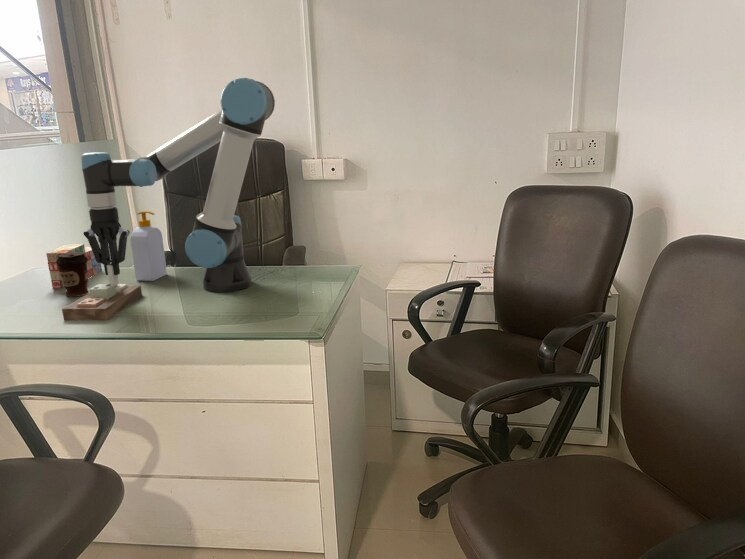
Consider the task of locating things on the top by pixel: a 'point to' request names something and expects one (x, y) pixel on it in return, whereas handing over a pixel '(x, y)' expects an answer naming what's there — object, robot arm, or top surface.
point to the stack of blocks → (70, 248)
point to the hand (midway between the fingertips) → (114, 285)
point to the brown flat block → (102, 305)
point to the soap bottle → (148, 251)
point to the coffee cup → (73, 273)
